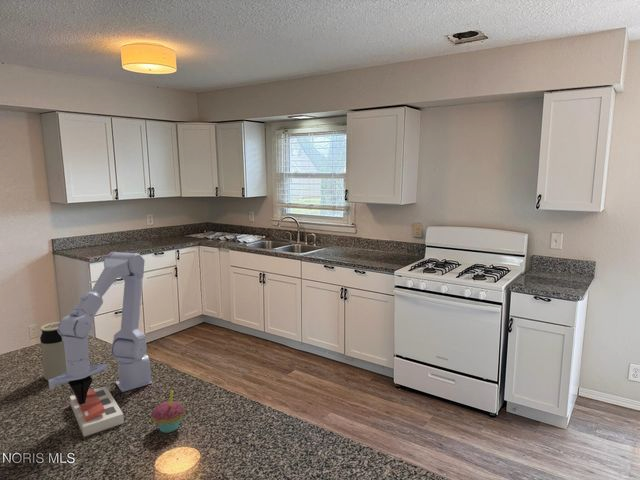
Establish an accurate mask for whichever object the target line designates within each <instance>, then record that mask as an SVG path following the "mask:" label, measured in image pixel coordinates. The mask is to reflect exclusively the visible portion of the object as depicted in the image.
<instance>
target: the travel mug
mask: <svg viewBox="0 0 640 480" xmlns="http://www.w3.org/2000/svg"><path fill="white" fill-rule="evenodd" d="M59 323H60V321H56V322H54V321H53V322H49V323H46V324H43V325H41V327H40V328H39V329H40V331H41V335H40V337H39V338H40V347H41V355H42V358H41V359H42V365H43V376H44V380H47V381H48V380H49V379H52V378H55V377H57V376H60V375H62V374H64V373H67V368H66V358H65V347H64V342H63V341H62V337H61V335H59V333H58V331H57V328H58V326H59Z"/></svg>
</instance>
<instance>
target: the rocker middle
mask: <svg viewBox="0 0 640 480" xmlns="http://www.w3.org/2000/svg"><path fill="white" fill-rule="evenodd" d="M98 404H100V400H99V398H98V396H95V397H91V398H88V399H86V402H85V403H84V404H81V405H79V403H78V405H79V407H80V410H84V409H88V408H91V407H94V406H96V405H98Z"/></svg>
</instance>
